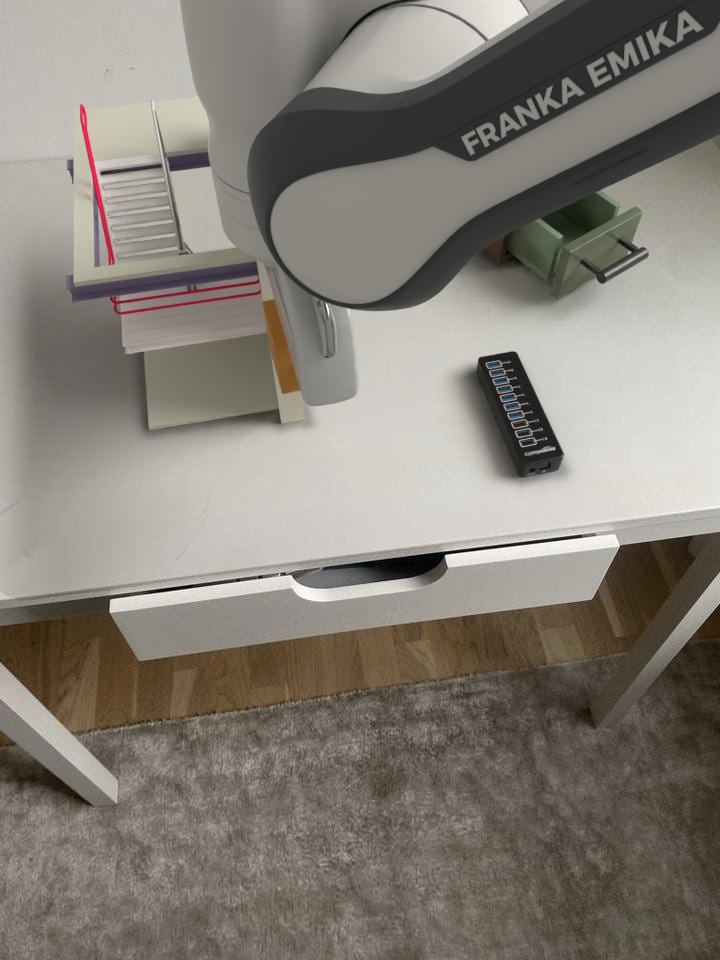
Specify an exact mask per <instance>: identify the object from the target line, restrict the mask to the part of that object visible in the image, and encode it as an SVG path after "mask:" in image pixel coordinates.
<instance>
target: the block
mask: <svg viewBox="0 0 720 960" xmlns="http://www.w3.org/2000/svg"><path fill="white" fill-rule="evenodd" d="M263 309H264V316H265V322H266V328H267V334H268V340H269V347H270V351H271V355H272V358H273V362H274V366H275V370H276V373H277V377H278V381H279V384H280V388H281V392H282V394H286V393H291V392H295V391H300V387H299V384H298V380H297V377H296V373H295V370H294V366H293V363H292V359H291V356H290V352H289V349H288V345H287V342H286V338H285V335H284V331H283V328H282V324H281V321H280V317H279V314H278V310H277V307H276V303H275V300H274V299H273V300H268V301H263Z"/></svg>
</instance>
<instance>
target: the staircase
mask: <svg viewBox="0 0 720 960" xmlns="http://www.w3.org/2000/svg"><path fill="white" fill-rule="evenodd" d="M72 121H73V122H72V123H73V127H72V128H73V141H72V142H73V143H72V144H73V145H72V146H73V148H72V149H73V158H72V159H66V171H68V172H69V174H70V177H71V184H72V185H73V274H69V275H68V274H67V275H65V289H66V290H69V292H70V295H71V303H79V302H85V301H93V300H98V299H107V298H109V301H110V303H112V304H113V312H114V313H115V314H116V315H119V316H120V319H121V320H120V321H121V323H120V324H121V344H122V345H121V346H122V348H124V352H125V353H124V355H129V354H137V353H142V352H143V363H144V379H145V393H146V408H147V422H148V424H147V425H148V429H149V431H153V430H159V429H166V428H172V427H178V426H184V425H190V424H197V423H202V422H208V421H209V422H210V421H215V420H220V419H227V418H233V417H239V416H244V415H245V416H246V415H250V414H251V415H252V414H258V413H264V412H270V411H275V410H276V411H277V410H278V412H279V418H280V424H283V425H284V424H288V423H295V422H301V421H306V416H305V408H304V400H303V397H302V394H301V391H295V392H291V393H286V394H282V392H281V388H280V384H279V381H278V377H277V373H276V370H275V366H274V362H273V358H272V355H271V351H270V347H269V340H268V334H267V328H266V322H265V316H264V309H263V301H268V300H273V299H274V296H273V293H272V289H271V286H270V282H269V279H268V275H267V272H266V268H265V265H264V264H263V263H261V262H259V261H258V260H256V259H255V258H254V257H253V256H251V255H249V254H247V253H245V252H243V251H242V250H240V249H239V248H237V247H236V246H235V247H229V248H221V249H216V250H215V249H214V250H209V251H201V252H195V253H194V251H193V250H192V249H191V248H190V247H189V245H188V243H186V241H184V237H183V233H182V228H181V223H180V222H181V221H180V216H179V211H178V207H177V201H176V196H175V195H176V194H175V191H174V185H173V179H172V175H171V172H179V171H187V170H195V169H196V170H197V169H203V168H211V167H210V162H209V156H208V139H209V121H208V116H207V113H206V111H205V109H204V107H203V105H202V103H201V102H200V100H199V97H198V96H191V97H181V98H173V99H165V100H157V101H156V100H155V101H154V100H153V99H152V100H150V101H149V102H139V103H131V104H122V105H114V106H105V107H96V108H89V109H86V107H85V106H84V104H83V103H80V104H79V110H73V119H72ZM158 179H164V181H157V182H150V183H141V184H135V185H134V184H133V185H125V186H120V187H119V186H118V187H110V188H104V186H111V185H120V184H128V183H134V182H141V181H151V180H158ZM161 193H167V194H166V195H159V196H152V197H151V196H150V197H142V198H136V199H127V200H120V201H114V202H107V201H108V200H113V199H123V198H130V197H137V196H145V195H152V194H153V195H154V194H161ZM161 207H169V208H167V209H159V210H152V211H145V212H136V213H129V214H122V215H114V216H110V214H116V213H125V212H132V211H140V210H148V209H156V208H161ZM99 215H100V220H101V225H102V231H103V234H104V235H103V236H104V239H105V240H104V241H105V244H106V250H107V257H108V259H107V261H108V265H101V263H100V262H101V261H100V260H101V259H100V258H101V257H100V227H99V225H100V224H99ZM171 220H172V222H167V223H160V224H159V223H158V224H151V225H144V226H138V227H131V228H123V229H116V230H113V228H118V227H127V226H134V225H142V224H148V223H156V222H162V221H163V222H164V221H171ZM171 234H174V236H173V235H172V236H167V237H159V238H152V239H145V240H138V241H129V240H134V239H141V238H148V237H149V238H150V237H156V236H164V235H171ZM126 240H127V241H129V242H123V243H116V242H119V241H120V242H121V241H126ZM171 248H177V249H173V250H164V249H171ZM155 250H157V251H158V250H163V251H158V252H151V253H143V254H136V255H130V256H129V255H128V254H134V253H142V252H150V251H155ZM120 255H128V256H123V257H119V256H120ZM117 297H119V300H117ZM117 305H120V311H119V310H118V309H117V308H118V306H117Z"/></svg>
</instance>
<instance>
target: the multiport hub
mask: <svg viewBox="0 0 720 960" xmlns="http://www.w3.org/2000/svg"><path fill="white" fill-rule="evenodd" d="M475 375H476V378H477V381H478V383H479V385H480V387H481V390H482V393H483V396H484V398H485V400H486V402H487V405H488V408H489V409H490V412H491V414H492V417H493V419H494V422H495V425H496V427H497V429H498V431H499V434H500V436H501V438H502V440H503V443H504V445H505V448H506V450H507V453H508V455H509V458H510V460H511V462H512V465H513V467H514V470H515V472H516V474H517V477H520V478H527V477H532V476H537V475H541V474H546V473H551V472H557V471H559V470H560V467H561V465H562V462H563V460H564V457H565V453H564V451H563V448H562V447H561V444H560V442H559V439H558V438H557V435H556V433H555V431H554V430H553V428H552V427H553V426H552V425H551V422H550V420H549V419H548V417H547V414H546V412H545V410H544V407H543V406H542V403H541V402H540V399H539V397H538V394H537V392H536V390H535V388H534V386H533V384H532V382H531V379H530V378H529V375H528V374H527V371H526V369H525V366H524V365H523V362H522V361H521V358H520V356H519V354H518V352H516V351H514V350H512V351H511V350H510V351H506V352H500V353H495V354H489V355H484V356H483V355H482V356H480V357H478V359H477V364H476V369H475Z"/></svg>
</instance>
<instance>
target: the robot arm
mask: <svg viewBox="0 0 720 960" xmlns="http://www.w3.org/2000/svg"><path fill="white" fill-rule="evenodd" d="M179 4H180V12H181V19H182V26H183V32H184V38H185V40H184V41H185V45H186V51H187V56H188V61H189V67H190V72H191V77H192V82H193V87H194V89H195V93H196V95H197V97H199V100H200V102H201V103H202V105H203V107H204V109H205V111H206V113H207V116H208V121H209V139H208V156H209V162H210V167H209V168H210V171H211V177H212V181H213V186H214V191H215V197H216V201H217V206H218V207H217V208H218V212H219V216H220V222H221V226H222V230H223V232H224V234H225V236H226V237H227V239H228V240H229V241H230V242H231V244H232V245H234V246H235V248H236V247H237V248H239V249H240V250H242V251H243V252H245V253H247V254H249V255H251V256H253V257H254V258H255V259H256V260H258V261H259V262H261V263H263V264H264V265H265V268H266V272H267V275H268V279H269V282H270V286H271V289H272V293H273V296H274V300H275V303H276V307H277V310H278V314H279V317H280V321H281V324H282V328H283V331H284V335H285V338H286V342H287V345H288V349H289V352H290V356H291V359H292V363H293V366H294V370H295V373H296V377H297V380H298V384H299V387H300V391H301V394H302V397H303V403H305V405H307V406H309V407H323V406H329V405H334V404H338V403H342V402H346V401H348V400H351V399H353V398H355V397H356V396H357V394H358V393H359V390H360V379H359V378H360V377H359V366H358V352H357V342H356V340H357V339H356V333H355V325H354V319H353V314H352V313H353V312H352V310H353V311H354V310H355V311H362V312H389V311H399V310H406V309H410V308H411V309H412V308H413V307H417V306H420V305H423V304H424V303H426V302H428V301H430V300H431V299H433V298H434V297H436V296H437V295H438V294H439V293H441V292H442V291H443V290H444V289H445V288H446V287H447V286H448V285H449V284H450V283H451V282H452V281H453V280H454V278H455V277H456V276H457V275H458V274H459V273H460V272H461V271H462V269H464V267H466V265H467V264H468V263H469V262H471V261H472V259H474V258H475V257H476V256H477V255H478V254H479V253H480V252H482V251H481V250H483V249H484V248H485V247H487V246H488V245H490V244H491V243H493V242H494V241H496V240H498V239H499V238H501V237H503V236H505V235H506V234H508V233H510V232H512V231H514V230H516V229H518V228H520V227H522V226H524V225H526V224H529V223H531V222H533V221H535V220H537V219H539V218H541V217H544V216H546V215H548V214H550V213H552V212H554V211H557V210H559V209H561V208H563V207H565V206H567V205H569V204H572V203H574V202H576V201H578V200H580V199H582V198H585V197H587V196H589V195H591V194H593V193H595V192H597V191H600V190H601V191H602V190H604V189H606V188H608V187H610V186H612V185H615V184H617V183H619V182H621V181H623V180H625V179H628V178H629V177H632V176H634V175H636V174H638V173H641V172H643V171H644V170H648V169H649V168H651V167H654V166H656V165H658V164H660V163H662V162H664V161H667V160H668V159H671V158H673V157H675V156H678V155H679V154H682V153H683V152H686V151H688V150H690V149H692V148H694V147H697V146H699V145H701V144H703V143H705V142H707V141H709V140H712V139H714V138H716V137H718V136H720V0H549V1H547V2H545V3H544V4H542V5H541V6H540V7H538V8H536V9H535V10H533V11H532V12H530V10H529V9H528V7H527V6H526V5H525V3H524V1H523V0H179Z"/></svg>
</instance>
